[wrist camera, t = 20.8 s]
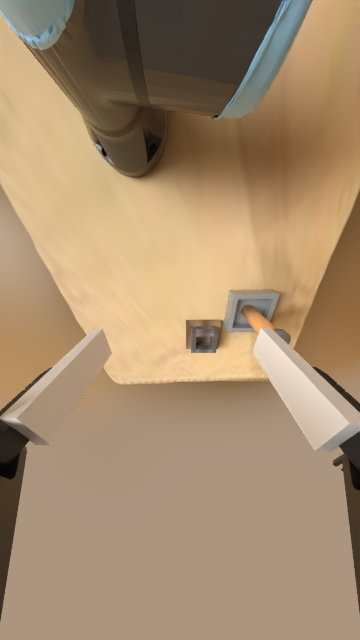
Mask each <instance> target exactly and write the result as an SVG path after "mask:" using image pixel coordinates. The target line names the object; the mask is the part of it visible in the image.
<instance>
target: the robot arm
mask: <svg viewBox="0 0 360 640" xmlns="http://www.w3.org/2000/svg"><path fill="white" fill-rule="evenodd" d="M311 3H312V0H0V13H1V15H2V16H3V17H4V19H5V20H6V22H7V23H8V25H9V27H10V28H11V29H12V30H13V32H14V33H15V34H16V35H17V36H18V37H19V38H20V39H21V40H22V41H23V43H24V44H25V45H26V46H27V47H28V49H29V50H30V51H31V52H32V54H33V55H34V56H35V57H36V59H37V60H38V61H39V62H40V64H41V65H42V66H43V67H44V69H45V70H46V71H47V72H48V73H49V75H50V76H51V77H52V78H53V80H54V81H55V82H56V83H57V85H58V86H59V87H60V88H61V90H62V91H63V92H64V93H65V95H66V96H67V97H68V98H69V99H70V101H71V102H72V103H73V104H74V106H75V107H76V108H77V109H78V111H79V112H80V113H81V115H82V118H83V120H84V123H85V125H86V128H87V130H88V133H89V135H90V137H91V139H92V141H93V143H94V145H95V146H96V148H97V149H98V151H99V152H100V154H101V155H102V156H103V158H104V159H105V160H106V161H107V162H108V163H109V164H110V165H111V166H112V167H113V168H114V169H115V170H117V171H118V172H120V173H121V174H123V175H126V176H130V177H139V176H143V175H145V174H147V173H149V172H150V171H151V170H152V169H153V168H154V167H155V166H156V165H157V163H158V162H159V160H160V158H161V156H162V153H163V151H164V147H165V143H166V138H167V126H168V121H167V110H169V111H177V112H184V113H191V114H199V115H206V116H212V119H214V120H219V119H221V118H222V117H223V118H243V117H245V116H247V115H248V114H249V113H250V112H251V111H252V110H254V109H255V108H256V107H257V106H258V104H259V103H260V102H261V100H262V99H263V97H264V96H265V94H266V93H267V91H268V90H269V88H270V86H271V85H272V83H273V81H274V79H275V78H276V76H277V74H278V72H279V70H280V68H281V66H282V64H283V62H284V61H285V59H286V57H287V55H288V52H289V50H290V48H291V46H292V44H293V42H294V40H295V38H296V36H297V34H298V32H299V29H300V27H301V25H302V23H303V21H304V18H305V16H306V14H307V12H308V9H309V7H310V5H311ZM111 354H112V352H111V350H110V347H109V344H108V342H107V339H106V337H105V334H104V331H103V329H93V330H92V331H91V332H90V333H89V334H88V335H87V336H86V337H85V338H84V339H83V340H81V341H80V342H79V343H78V344H77V345H76V346H75V347H74V348H73V349H72V350H71V351H70V352H69V353H68V354H67V355H66V356H64V358H62V359H61V360H60V361H59V362H58V363H57V364H56V365H55V366H54V367H51V368H49V369H48V370H47V371H45V372H43V373H42V374H40V375H39V376H38V377H37V378H36V379H35V380H34V381H33V382H32V383H31V384H29V385H28V386H27V387H26V388H25V390H23V391H22V392H21V393H19V394H18V395H17V396H16V397H15V398H14V399H13V400H12V401H11V402H9V403H8V404H7V405H6V406H5V407H4V408H3V409H2V410H1V411H0V619H1V613H2V607H3V600H4V594H5V587H6V581H7V574H8V568H9V562H10V556H11V549H12V543H13V537H14V530H15V523H16V517H17V511H18V505H19V498H20V492H21V486H22V479H23V473H24V467H25V460H26V454H27V449H26V447H25V445H26V444H27V442H28V441H29V440H30V441H31V442H33V443H34V444H36V445H51V444H52V443H53V441H54V440H55V438H56V437H57V435H58V434H59V432H60V431H61V429H62V427H63V426H64V424H65V423H66V421H67V420H68V418H69V417H70V415H71V414H72V412H73V411H74V409H75V408H76V406H77V405H78V403H79V402H80V400H81V399H82V397H83V396H84V394H85V393H86V391H87V390H88V388H89V387H90V385H91V384H92V382H93V381H94V379H95V378H96V376H97V375H98V373H99V372H100V370H101V369H102V367H103V366H104V364H105V363H106V361H107V360H108V358H109V357H110V355H111ZM253 355H254V356H255V358H256V359H257V361H258V362H259V364H260V366H261V367H262V369H263V370H264V372H265V373H266V375H267V377H268V378H269V380H270V381H271V383H272V384H273V386H274V387H275V389H276V391H277V392H278V394H279V395H280V397H281V399H282V400H283V402H284V403H285V405H286V406H287V408H288V410H289V411H290V413H291V414H292V416H293V417H294V419H295V420H296V422H297V424H298V425H299V427H300V428H301V430H302V432H303V433H304V435H305V436H306V438H307V439H308V441H309V443H310V444H311V446H312V447H313V449H314V450H315V451H333V450H334V449H336V448H337V447H340V448H341V449H342V451H343V452H344V454H343V455H342V456H340V457H338V458H336V459H335V460H334V461H333V465H334V466H338V465H340V464H343V468H342V469H341V470H342V471H343V472H344V481H345V490H346V498H347V507H348V516H349V525H350V533H351V541H352V551H353V559H354V568H355V577H356V585H357V594H358V602H359V611H360V403H359V402H357V401H356V400H355V399H354V398H353V397H352V396H351V395H350V394H349V393H347V392H345V390H344V389H343V388H342V387H341V386H339V385H337V383H336V382H335V381H334V380H333V379H332V378H331V377H330V376H329V375H327V374H326V373H324V372H323V371H321V370H320V369H318V368H316V367H311V366H310V365H309V364H308V363H307V362H306V361H305V360H304V359H303V358H302V357H301V356H300V355H299V354H298V353H297V352H296V351H294V350H293V349H292V348H291V347H290V346H289V345H288V344H287V343H286V342H285V341H284V340H283V339H282V338H281V337H280V336H279V335H278V334H277V333H276V332H275V331H274V330H272V329H271V328H270V327H265V328H260V331H259V334H258V337H257V340H256V343H255V346H254V349H253Z"/></svg>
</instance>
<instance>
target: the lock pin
mask: <svg viewBox="0 0 360 640" xmlns="http://www.w3.org/2000/svg"><path fill="white" fill-rule="evenodd" d="M241 314H242V315H243V316H244V317H245V319H246V320H247V321H248V322H249V324H250V325H251V326H252V327H253V328H254V330H255V331H256V332H257V333H258V334H259V331H260V328H265V327H270V328H271V329H272V330H274V331H275V332H276V333H277V334H278V335H279V336H280V337H281V338H282V339H283V340H284V341H285V342H286V343H287V344H289V342H290V340H291V337H290V335H289V334H288V333H287V332H286V331H284V330H282V329H277V328H276V327H275V326H273V325H272V324H271V323H270V322H269V321H268V320H267V319H266V318H265V317H264V316H263V315H262V314H260V313H259V312H258V311H257V310H256V309H255V308H254V307H253V306H252V305H245V306H244V307H243V308H242V309H241Z"/></svg>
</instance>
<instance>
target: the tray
mask: <svg viewBox="0 0 360 640" xmlns="http://www.w3.org/2000/svg"><path fill="white" fill-rule="evenodd" d="M279 296H280V293H278V292H276V291H274V290H229V296H228V303H227V309H226V315H225V321H224V327H225V329H226V331H227V332H256V331H255V330H254V328H253V327H252V326H251V325H250V324H249V322H248V321H247V320H246V319H245V317H244V316H243V315H242V314H241V309H242V308H243V307H244V306H245V305H252V306H253V307H254V308H255V309H256V310H257V311H258V312H259V313H260V314H262V315H263V316H264V317H265V318H266V319H267V320H268V321H269V322H270V321H271V318H272V315H273V313H274V310H275V307H276V304H277V302H278V299H279Z"/></svg>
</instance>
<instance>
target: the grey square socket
mask: <svg viewBox="0 0 360 640" xmlns="http://www.w3.org/2000/svg"><path fill="white" fill-rule="evenodd" d="M220 328H221V320H186V349H191V353H216V349H217V348H218V342H219V335H220Z"/></svg>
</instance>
